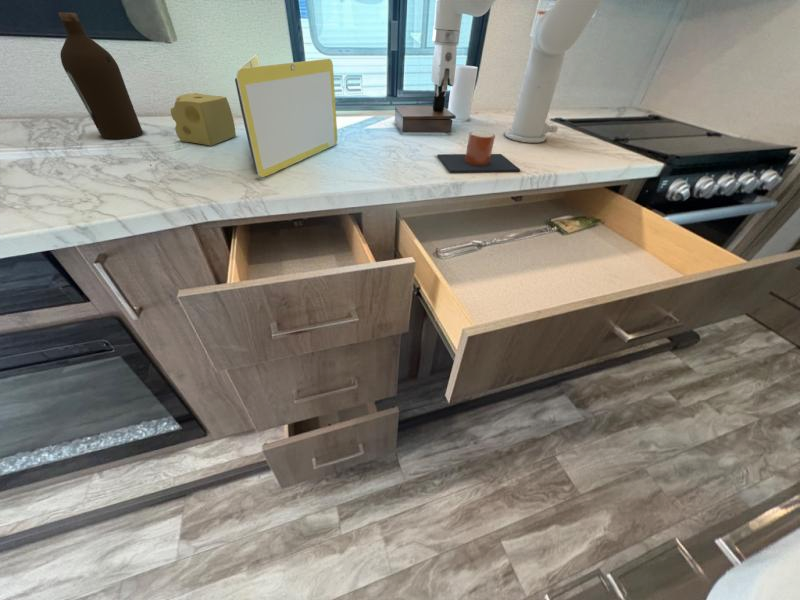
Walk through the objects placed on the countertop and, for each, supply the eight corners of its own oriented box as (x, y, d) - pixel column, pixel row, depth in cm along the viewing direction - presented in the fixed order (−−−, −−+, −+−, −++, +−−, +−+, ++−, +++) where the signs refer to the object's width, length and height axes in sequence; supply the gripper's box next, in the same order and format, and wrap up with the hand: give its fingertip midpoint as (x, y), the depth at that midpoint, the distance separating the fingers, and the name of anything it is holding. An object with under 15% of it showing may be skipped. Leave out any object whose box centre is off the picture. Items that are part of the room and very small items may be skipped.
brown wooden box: (438, 123, 116) (440, 109, 113) (450, 135, 105) (452, 120, 103) (394, 123, 114) (395, 109, 111) (402, 135, 103) (402, 119, 100)
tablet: (258, 135, 95) (240, 50, 83) (334, 134, 100) (328, 53, 87) (245, 181, 70) (216, 68, 57) (349, 177, 74) (343, 71, 62)
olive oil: (147, 128, 95) (99, 13, 79) (144, 138, 88) (92, 14, 72) (101, 131, 91) (42, 11, 75) (95, 141, 84) (28, 11, 68)
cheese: (179, 141, 88) (163, 98, 81) (208, 132, 96) (196, 91, 89) (212, 147, 86) (198, 102, 79) (239, 136, 94) (229, 95, 87)
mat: (500, 156, 91) (501, 153, 91) (519, 171, 82) (520, 169, 82) (437, 156, 88) (437, 154, 88) (450, 172, 79) (450, 170, 79)
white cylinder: (468, 117, 126) (476, 66, 115) (469, 122, 119) (478, 68, 109) (446, 115, 126) (453, 64, 116) (446, 120, 120) (453, 67, 109)
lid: (442, 108, 113) (443, 105, 113) (455, 118, 102) (455, 116, 102) (395, 108, 111) (395, 106, 110) (402, 119, 100) (403, 116, 99)
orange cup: (484, 157, 88) (489, 130, 83) (492, 165, 83) (499, 137, 79) (461, 157, 87) (466, 130, 82) (469, 165, 82) (474, 137, 78)
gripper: (466, 40, 90) (456, 116, 102) (450, 37, 101) (442, 106, 113) (439, 39, 89) (432, 116, 101) (427, 36, 100) (421, 105, 112)
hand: (437, 110), depth 107 cm, fingers closed
